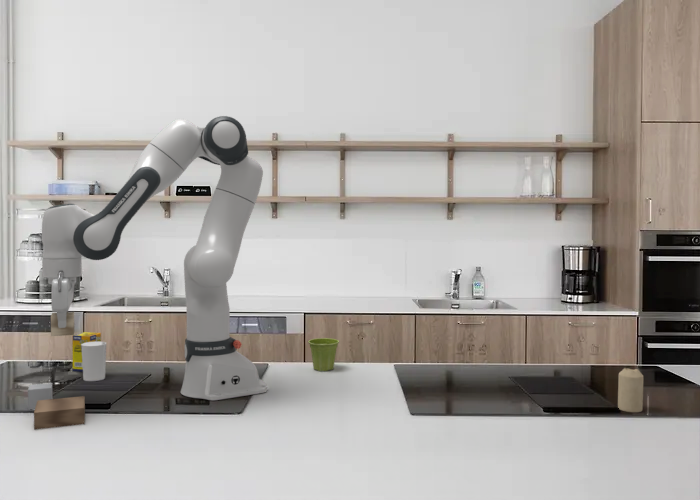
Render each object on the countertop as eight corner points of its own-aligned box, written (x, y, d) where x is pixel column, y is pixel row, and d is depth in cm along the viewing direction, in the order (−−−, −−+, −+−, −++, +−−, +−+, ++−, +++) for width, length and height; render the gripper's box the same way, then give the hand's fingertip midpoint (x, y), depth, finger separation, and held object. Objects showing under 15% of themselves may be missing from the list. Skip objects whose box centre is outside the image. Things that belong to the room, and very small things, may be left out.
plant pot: (338, 373, 187) (338, 344, 186) (306, 372, 187) (307, 343, 187) (339, 365, 196) (339, 338, 196) (309, 365, 196) (309, 338, 196)
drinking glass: (111, 377, 179) (111, 343, 179) (91, 382, 174) (90, 347, 173) (97, 374, 183) (96, 340, 182) (76, 379, 177) (76, 344, 177)
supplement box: (90, 372, 185) (89, 336, 184) (71, 371, 186) (71, 335, 186) (101, 368, 191) (101, 332, 190) (84, 367, 192) (83, 331, 191)
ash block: (74, 331, 158) (74, 311, 158) (73, 334, 154) (73, 314, 154) (52, 332, 157) (52, 312, 156) (51, 336, 152) (50, 315, 152)
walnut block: (84, 412, 148) (84, 396, 148) (84, 425, 139) (84, 407, 138) (37, 417, 144) (37, 400, 144) (34, 431, 135) (33, 412, 135)
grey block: (52, 402, 155) (52, 382, 154) (51, 408, 150) (51, 387, 150) (29, 405, 153) (29, 384, 153) (28, 410, 148) (27, 389, 148)
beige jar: (642, 407, 154) (643, 367, 153) (642, 413, 149) (643, 372, 148) (618, 404, 156) (619, 365, 156) (617, 410, 151) (618, 369, 151)
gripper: (74, 272, 146) (75, 331, 147) (77, 266, 165) (78, 318, 166) (44, 273, 144) (45, 333, 144) (51, 267, 163) (52, 319, 163)
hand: (63, 325), depth 155 cm, fingers closed on ash block, 5 cm apart
